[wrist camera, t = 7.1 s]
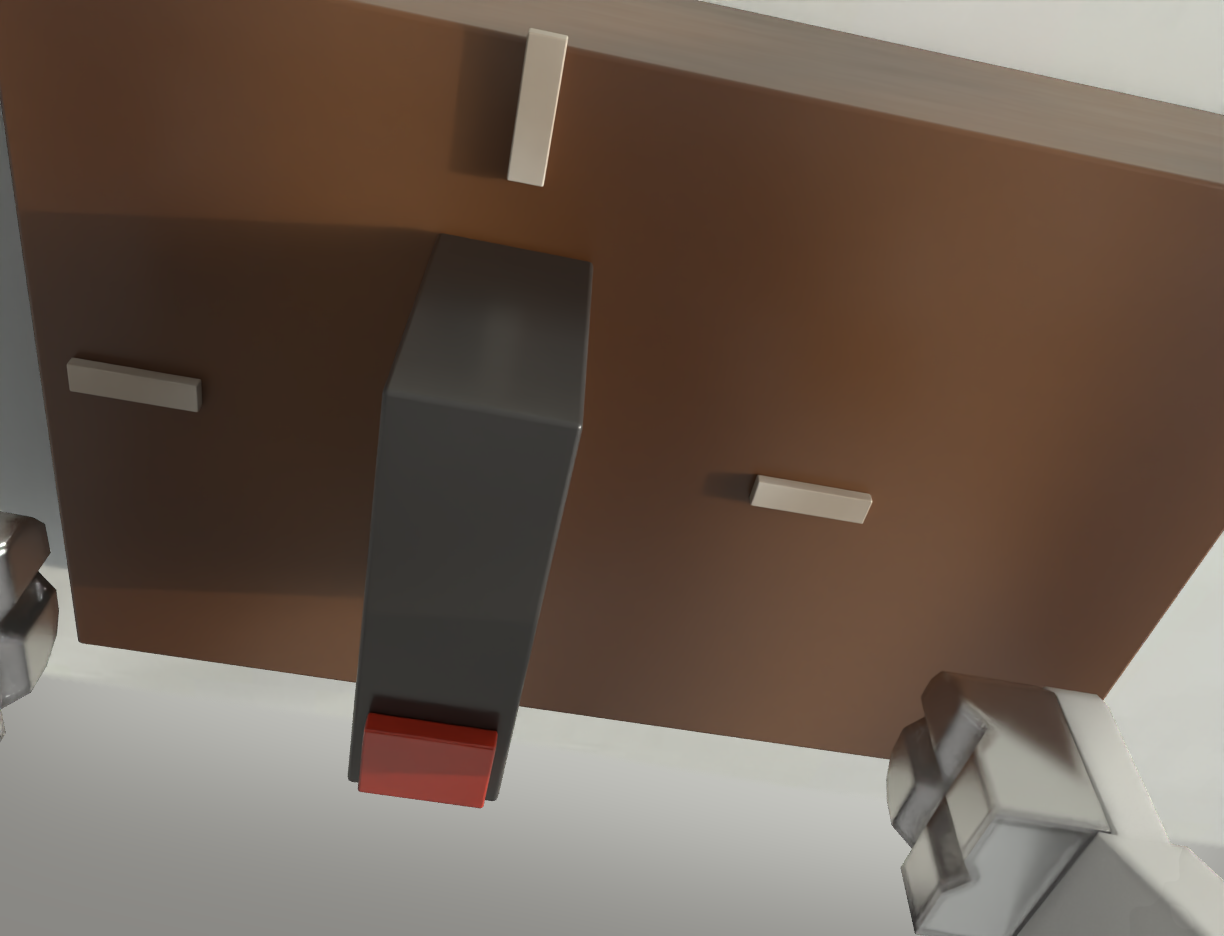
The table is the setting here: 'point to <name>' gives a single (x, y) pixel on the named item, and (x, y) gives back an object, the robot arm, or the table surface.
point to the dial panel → (630, 339)
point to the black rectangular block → (466, 515)
